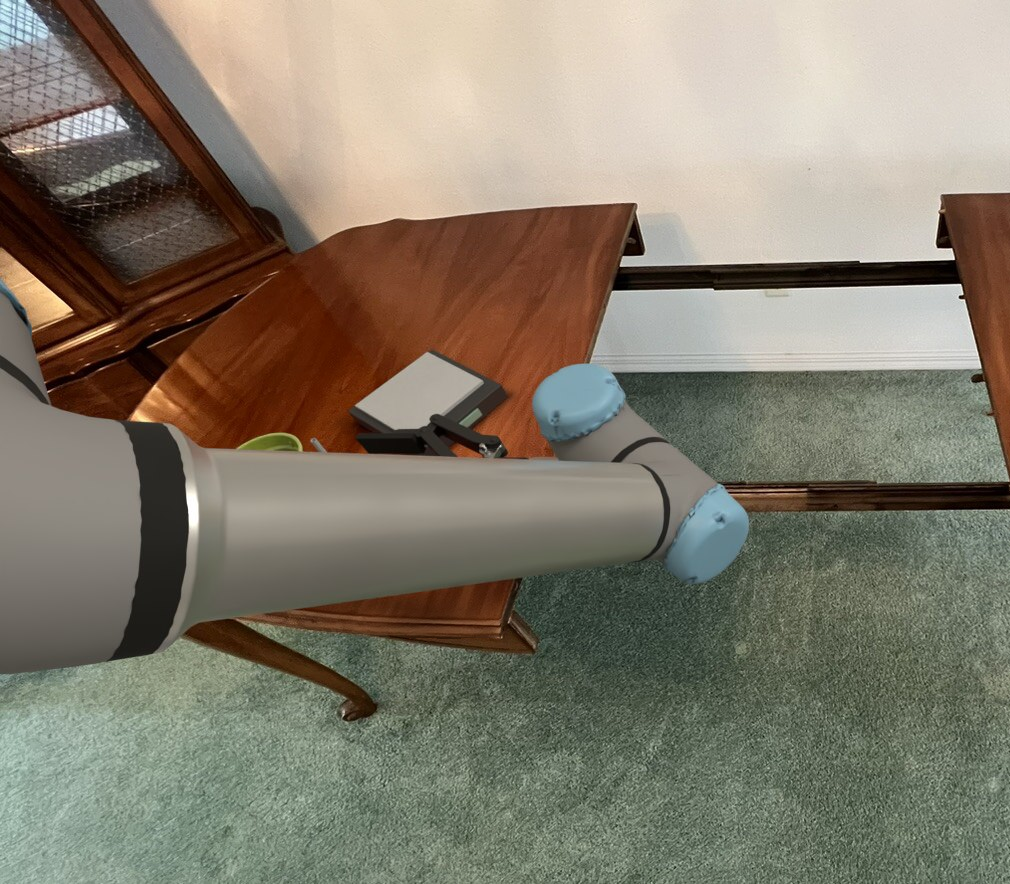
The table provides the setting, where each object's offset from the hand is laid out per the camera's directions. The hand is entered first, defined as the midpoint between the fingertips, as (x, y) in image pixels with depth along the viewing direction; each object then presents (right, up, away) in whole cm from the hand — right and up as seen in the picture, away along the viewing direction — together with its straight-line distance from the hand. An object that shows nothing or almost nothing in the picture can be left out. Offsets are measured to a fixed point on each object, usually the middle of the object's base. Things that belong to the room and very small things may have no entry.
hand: (333, 493), depth 70 cm
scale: (-2, +10, +22) cm, 25 cm away
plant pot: (-13, -3, +13) cm, 19 cm away
